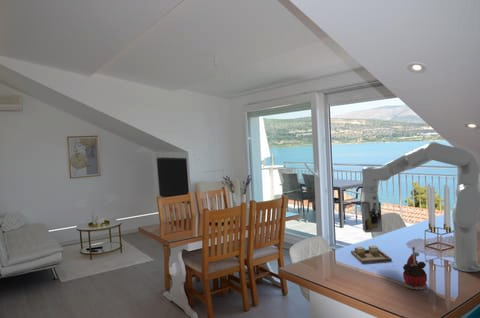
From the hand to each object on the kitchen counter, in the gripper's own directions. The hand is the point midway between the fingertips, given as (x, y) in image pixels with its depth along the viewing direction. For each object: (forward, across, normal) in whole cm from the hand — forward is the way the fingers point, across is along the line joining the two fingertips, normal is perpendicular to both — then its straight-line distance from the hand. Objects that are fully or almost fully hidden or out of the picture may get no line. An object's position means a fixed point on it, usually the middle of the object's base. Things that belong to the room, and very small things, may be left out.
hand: (371, 221), depth 199 cm
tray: (+22, +4, 0) cm, 22 cm away
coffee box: (+5, 0, 0) cm, 5 cm away
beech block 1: (+21, +10, +4) cm, 24 cm away
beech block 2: (+21, +10, -4) cm, 24 cm away
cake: (+22, -36, -4) cm, 43 cm away
